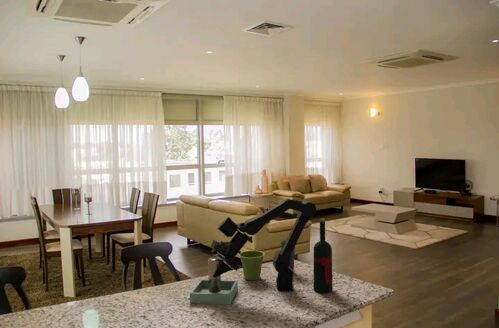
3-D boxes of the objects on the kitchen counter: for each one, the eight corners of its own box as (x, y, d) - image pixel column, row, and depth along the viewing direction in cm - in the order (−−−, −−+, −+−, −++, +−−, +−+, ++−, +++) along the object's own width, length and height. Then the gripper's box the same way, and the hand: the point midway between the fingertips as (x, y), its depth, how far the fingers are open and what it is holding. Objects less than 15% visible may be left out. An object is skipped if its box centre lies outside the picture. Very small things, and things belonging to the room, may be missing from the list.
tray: (237, 289, 171) (237, 280, 170) (230, 304, 155) (229, 294, 155) (201, 288, 173) (200, 279, 173) (189, 302, 157) (189, 293, 157)
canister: (222, 288, 166) (221, 257, 165) (219, 293, 161) (218, 261, 160) (210, 288, 167) (209, 257, 166) (207, 292, 162) (206, 260, 161)
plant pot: (233, 278, 185) (233, 254, 185) (252, 272, 193) (252, 249, 193) (251, 284, 177) (251, 259, 176) (270, 278, 185) (270, 253, 184)
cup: (294, 274, 188) (294, 243, 188) (280, 274, 190) (280, 242, 189) (296, 270, 195) (295, 239, 194) (282, 269, 196) (281, 239, 196)
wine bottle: (319, 296, 161) (319, 222, 160) (310, 287, 171) (310, 217, 170) (338, 294, 163) (337, 221, 161) (328, 286, 173) (327, 216, 171)
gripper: (214, 228, 173) (190, 257, 169) (231, 237, 156) (205, 269, 152) (232, 244, 177) (208, 273, 172) (250, 254, 160) (225, 286, 156)
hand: (211, 275), depth 163 cm, fingers closed on canister, 5 cm apart
